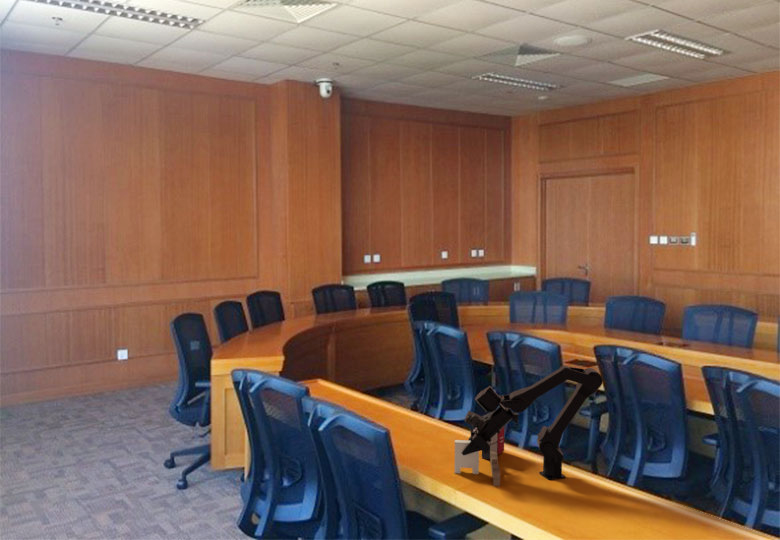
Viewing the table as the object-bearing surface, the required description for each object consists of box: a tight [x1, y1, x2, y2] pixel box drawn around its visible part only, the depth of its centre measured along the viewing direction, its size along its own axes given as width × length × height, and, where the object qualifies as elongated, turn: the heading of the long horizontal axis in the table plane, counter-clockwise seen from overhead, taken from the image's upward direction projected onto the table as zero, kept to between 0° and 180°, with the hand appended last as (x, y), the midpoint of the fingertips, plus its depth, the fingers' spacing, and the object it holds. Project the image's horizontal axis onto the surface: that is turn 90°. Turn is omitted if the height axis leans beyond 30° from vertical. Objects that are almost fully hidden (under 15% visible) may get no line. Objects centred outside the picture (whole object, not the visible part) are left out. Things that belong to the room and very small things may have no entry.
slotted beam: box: [489, 451, 501, 487], centre depth 222 cm, size 22×2×4 cm, turn 174°
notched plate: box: [454, 439, 480, 475], centre depth 222 cm, size 8×2×10 cm, turn 84°
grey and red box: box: [480, 410, 505, 461], centre depth 239 cm, size 11×4×15 cm, turn 143°
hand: (462, 452), depth 222 cm, fingers closed on notched plate, 2 cm apart
